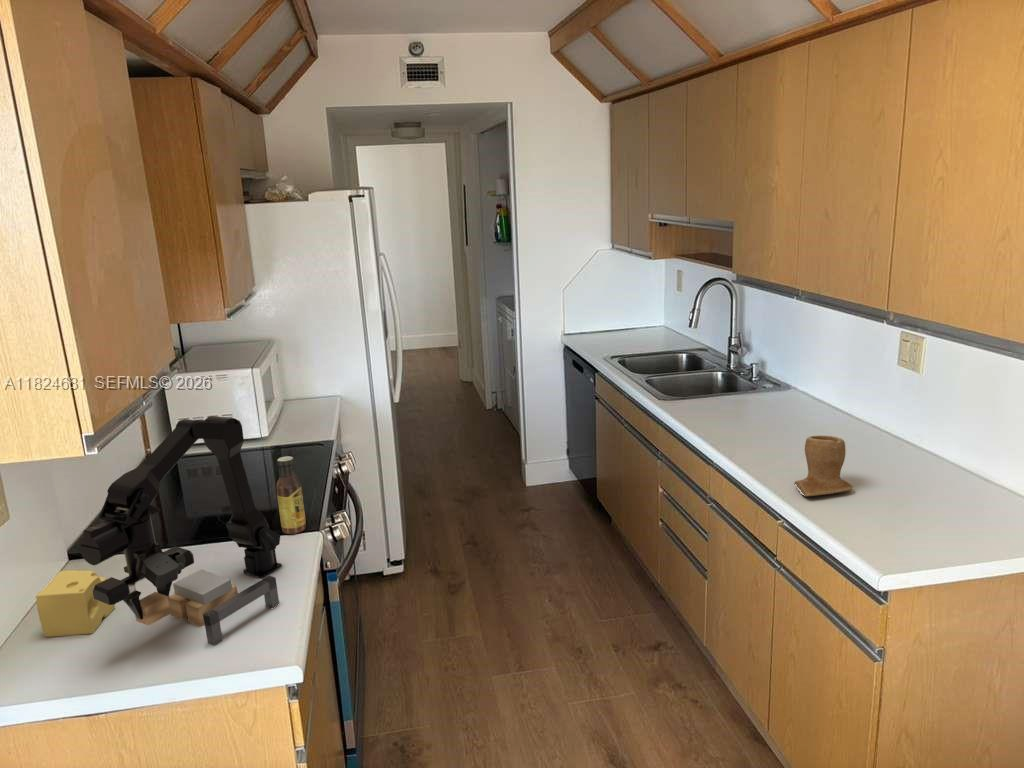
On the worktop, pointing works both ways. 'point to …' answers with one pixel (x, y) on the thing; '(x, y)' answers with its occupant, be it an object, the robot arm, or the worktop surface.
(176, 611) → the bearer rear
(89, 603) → the cheese
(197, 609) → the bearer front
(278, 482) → the sauce bottle
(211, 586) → the slab
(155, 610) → the block
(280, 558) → the worktop surface
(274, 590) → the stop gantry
